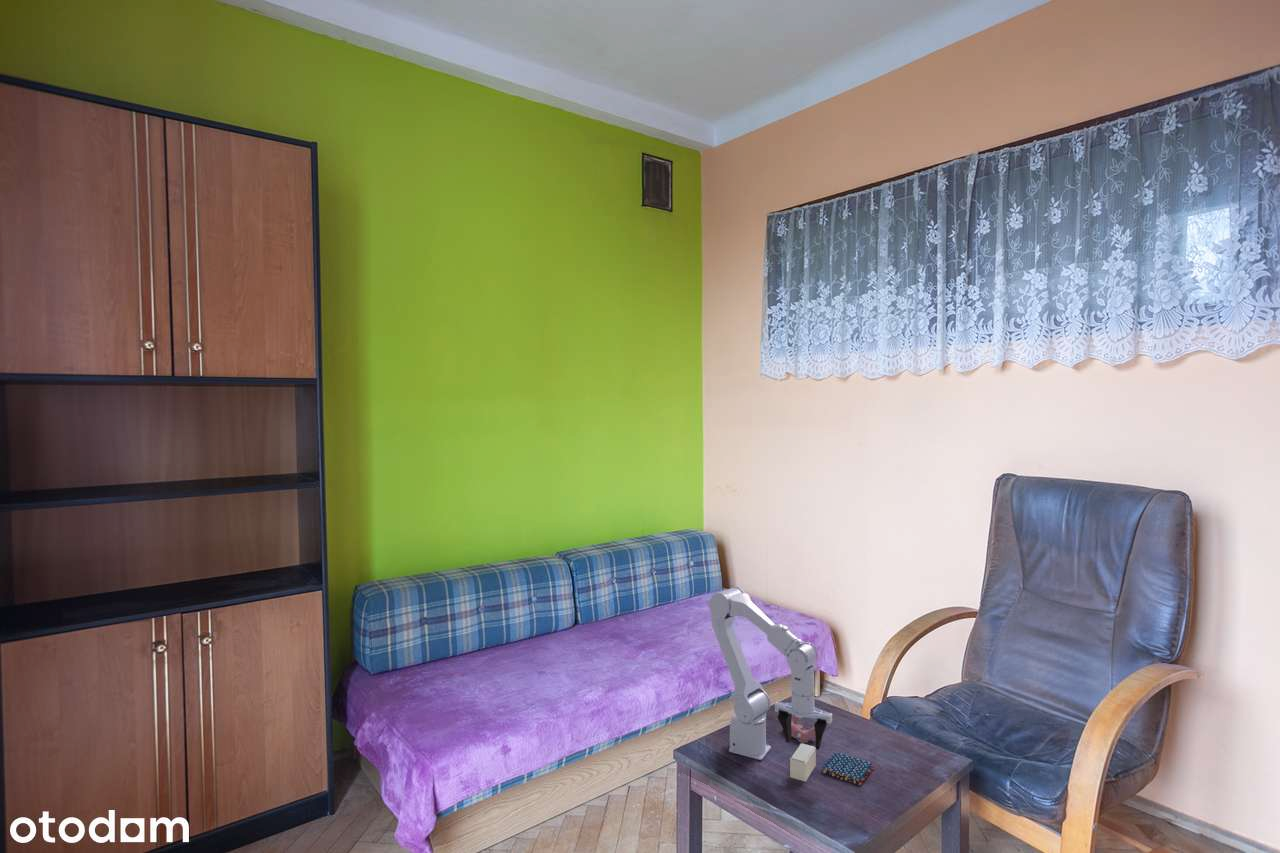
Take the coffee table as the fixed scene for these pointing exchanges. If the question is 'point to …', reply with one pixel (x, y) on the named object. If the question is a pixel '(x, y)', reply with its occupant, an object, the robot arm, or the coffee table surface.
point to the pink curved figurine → (801, 731)
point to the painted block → (803, 762)
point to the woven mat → (848, 768)
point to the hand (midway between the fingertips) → (803, 744)
